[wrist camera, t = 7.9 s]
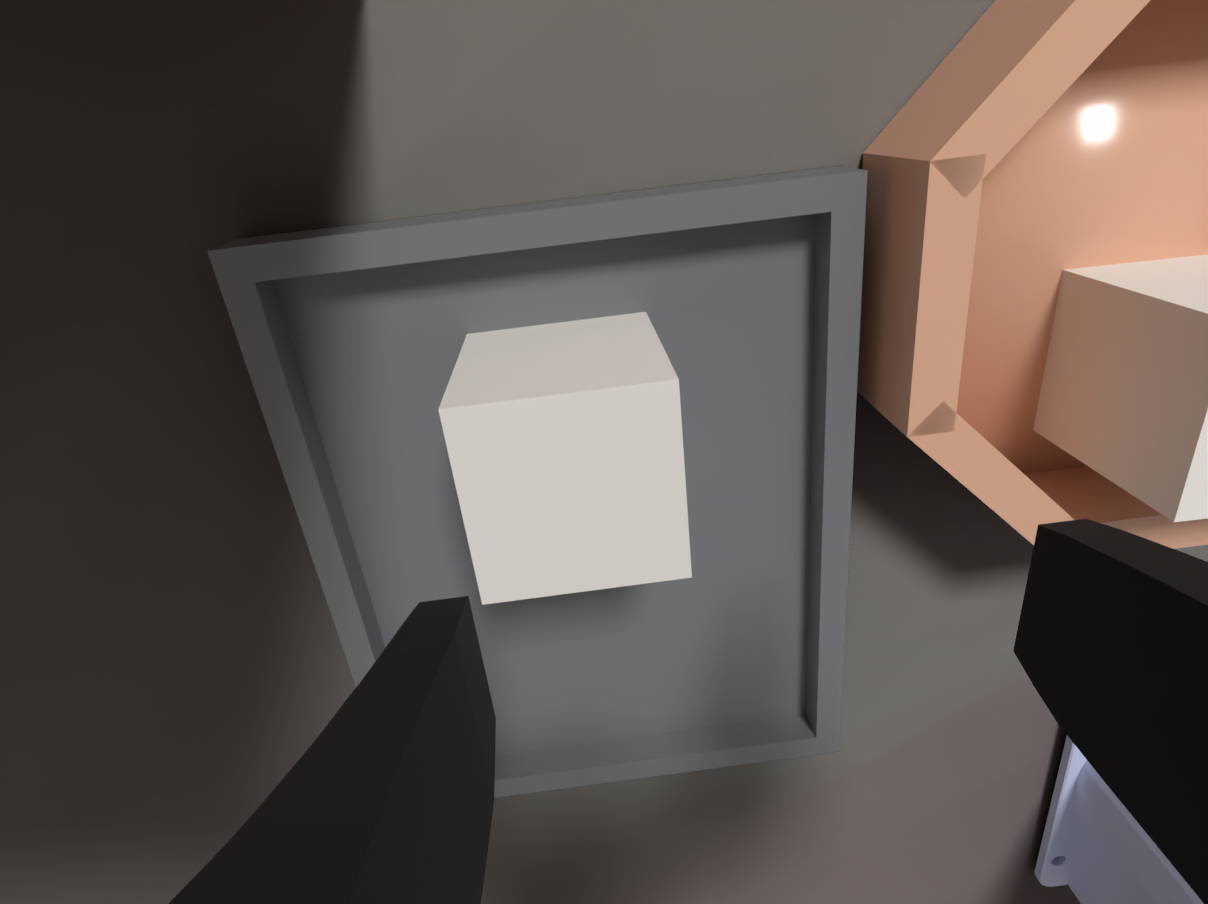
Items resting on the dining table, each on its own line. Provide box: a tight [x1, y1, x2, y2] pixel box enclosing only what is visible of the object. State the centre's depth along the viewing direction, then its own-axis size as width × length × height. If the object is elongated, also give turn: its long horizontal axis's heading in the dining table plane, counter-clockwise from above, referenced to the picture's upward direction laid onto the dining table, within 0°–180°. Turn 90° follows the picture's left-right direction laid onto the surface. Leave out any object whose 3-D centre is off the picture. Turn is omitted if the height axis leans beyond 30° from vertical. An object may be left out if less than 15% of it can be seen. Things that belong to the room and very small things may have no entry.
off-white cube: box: [438, 312, 692, 605], centre depth 15 cm, size 4×4×4 cm
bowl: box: [857, 0, 1208, 549], centre depth 15 cm, size 13×13×3 cm
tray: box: [207, 166, 868, 798], centre depth 18 cm, size 16×13×2 cm
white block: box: [1033, 254, 1208, 522], centre depth 15 cm, size 4×4×4 cm
